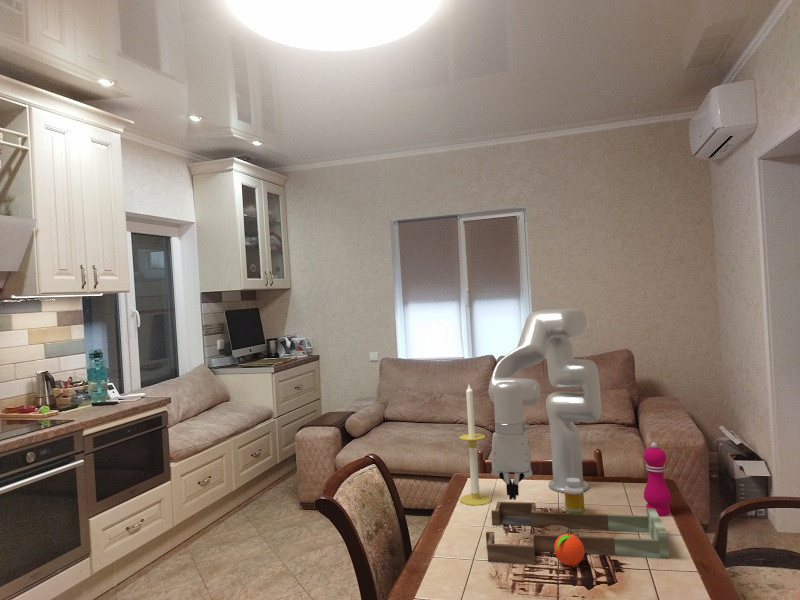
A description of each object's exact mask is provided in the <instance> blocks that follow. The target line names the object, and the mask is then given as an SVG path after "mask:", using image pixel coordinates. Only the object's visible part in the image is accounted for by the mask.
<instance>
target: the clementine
mask: <svg viewBox="0 0 800 600" xmlns="http://www.w3.org/2000/svg"><path fill="white" fill-rule="evenodd" d="M553 553H554V554H555V556H556V558H557V559H558V561H559V562H560V563H562V564H563V565H566V566H570V567H571V566H576V565H578V564H580V563H581V562H582V561H583V559H584V557H585V554H584V546H583V544H582V542H581V541H580V539H579V538H577V537H576V536H574V535H572V534H563V535H561V536H559V537H558V538H557V540H556V541H555V544H554V552H553Z"/></svg>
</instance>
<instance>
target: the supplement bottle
mask: <svg viewBox="0 0 800 600" xmlns="http://www.w3.org/2000/svg"><path fill="white" fill-rule="evenodd" d="M566 484H567V486H566V487H565V488H564V492H563V494H564V506H565V510H564V511H565V513H583V514H586V513H585V511H586V509H585V494H584V491H583V488H582V487H581V486H580V485H581V484H580V479H578V478H567V479H566Z"/></svg>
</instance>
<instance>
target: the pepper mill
mask: <svg viewBox="0 0 800 600" xmlns="http://www.w3.org/2000/svg"><path fill="white" fill-rule="evenodd" d="M643 459H644V462H646V464H645V466H646V468H645V470H646V471H647V476H648V477H647V481H646V485H645V487H644V490H643V498H644V499H643V500H644V501H645V502H646V505H645V509H646V512H647V508H655V510H656V511H657V513H658V515H659V517H667V516H669V515H670V514H671V507H670V503H671V502H672V495H671V491H670V489H669V487H668V485H667V482H666V480H665V471H666V465H665V463H666V462H667V454H666V453H665V451H664V450H663V449H661V448H659V447H658V443H657V442H655V441H653V442H651V444H650V447H648V448H647V449H645V451H644V452H643Z"/></svg>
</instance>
